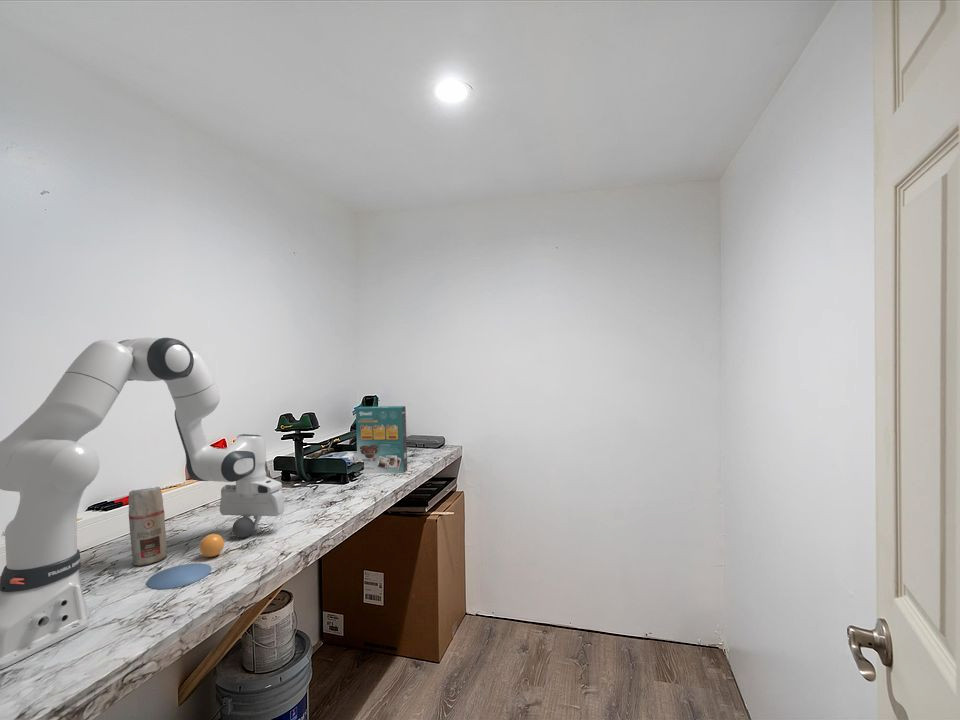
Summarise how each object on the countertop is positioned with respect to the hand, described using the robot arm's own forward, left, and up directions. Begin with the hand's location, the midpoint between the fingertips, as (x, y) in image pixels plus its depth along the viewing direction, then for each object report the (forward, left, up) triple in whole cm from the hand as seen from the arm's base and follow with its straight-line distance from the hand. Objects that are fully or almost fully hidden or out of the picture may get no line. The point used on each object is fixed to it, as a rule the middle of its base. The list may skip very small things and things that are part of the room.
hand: (252, 529), depth 155 cm
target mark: (-31, 0, -1) cm, 31 cm away
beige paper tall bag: (-23, +16, -1) cm, 28 cm away
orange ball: (-19, 0, +2) cm, 19 cm away
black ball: (-5, 0, +2) cm, 5 cm away
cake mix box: (+77, -15, -1) cm, 79 cm away
